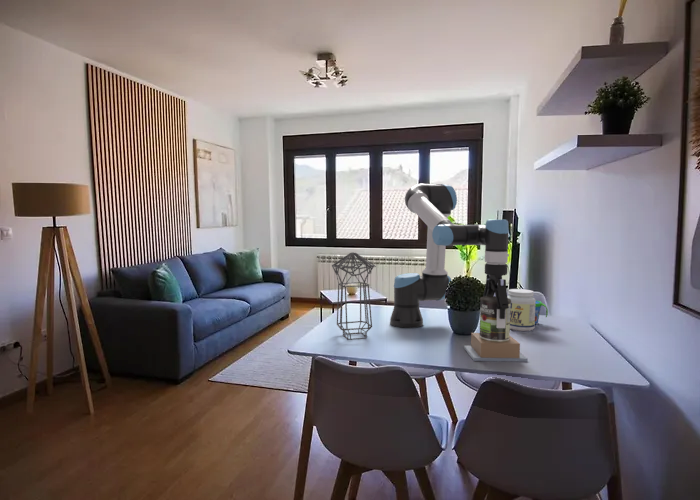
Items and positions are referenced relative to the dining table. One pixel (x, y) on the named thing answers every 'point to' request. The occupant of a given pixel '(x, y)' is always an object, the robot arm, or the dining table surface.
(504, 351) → the tower base
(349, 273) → the geometric lantern
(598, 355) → the dining table surface
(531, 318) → the supplement tub
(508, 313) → the coffee can
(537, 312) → the snack cup
